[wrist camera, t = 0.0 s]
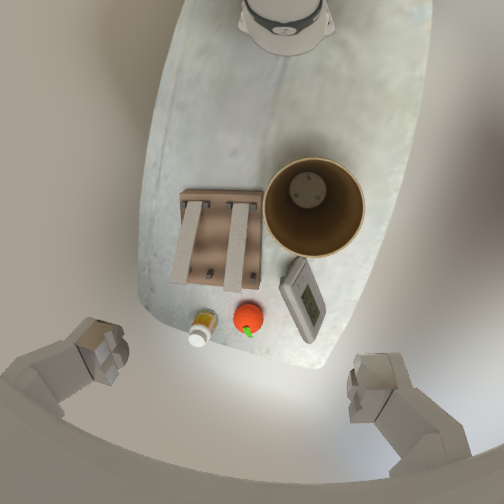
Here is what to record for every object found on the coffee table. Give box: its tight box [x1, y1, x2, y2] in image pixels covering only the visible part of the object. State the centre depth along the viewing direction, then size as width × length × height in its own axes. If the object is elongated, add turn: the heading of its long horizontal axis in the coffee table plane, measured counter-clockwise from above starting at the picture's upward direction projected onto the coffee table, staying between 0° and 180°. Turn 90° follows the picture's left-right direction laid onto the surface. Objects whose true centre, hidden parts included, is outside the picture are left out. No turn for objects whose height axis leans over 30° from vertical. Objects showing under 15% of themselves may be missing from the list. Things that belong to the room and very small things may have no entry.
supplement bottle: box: [189, 309, 218, 347], centre depth 65 cm, size 5×5×10 cm
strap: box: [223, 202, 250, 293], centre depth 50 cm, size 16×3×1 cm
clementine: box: [233, 304, 263, 338], centre depth 63 cm, size 8×7×7 cm
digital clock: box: [279, 257, 326, 344], centre depth 57 cm, size 16×9×11 cm, turn 14°
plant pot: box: [262, 157, 365, 258], centre depth 46 cm, size 15×15×16 cm
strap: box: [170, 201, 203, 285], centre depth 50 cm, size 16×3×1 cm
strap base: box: [180, 190, 263, 290], centre depth 56 cm, size 20×16×7 cm
